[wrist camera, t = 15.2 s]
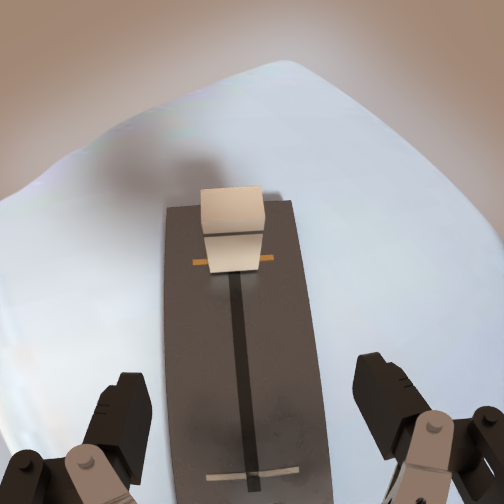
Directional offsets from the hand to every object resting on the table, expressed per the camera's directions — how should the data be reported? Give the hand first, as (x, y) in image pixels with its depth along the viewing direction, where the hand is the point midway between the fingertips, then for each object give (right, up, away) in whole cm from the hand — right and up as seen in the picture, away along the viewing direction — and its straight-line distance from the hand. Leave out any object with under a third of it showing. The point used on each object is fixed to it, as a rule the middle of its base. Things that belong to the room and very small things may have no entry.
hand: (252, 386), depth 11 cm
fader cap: (-2, +4, +17) cm, 17 cm away
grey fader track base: (-1, -5, +15) cm, 16 cm away
